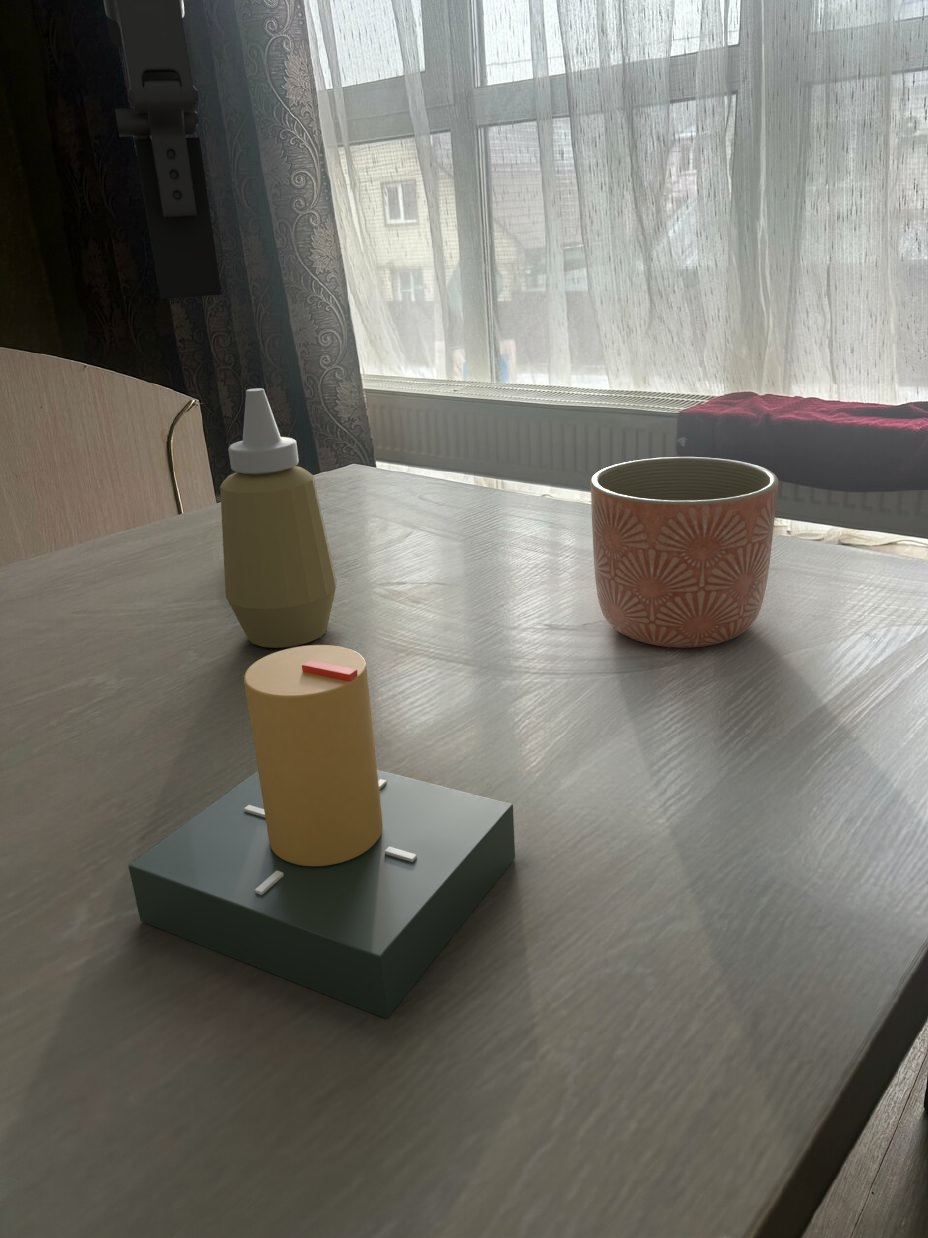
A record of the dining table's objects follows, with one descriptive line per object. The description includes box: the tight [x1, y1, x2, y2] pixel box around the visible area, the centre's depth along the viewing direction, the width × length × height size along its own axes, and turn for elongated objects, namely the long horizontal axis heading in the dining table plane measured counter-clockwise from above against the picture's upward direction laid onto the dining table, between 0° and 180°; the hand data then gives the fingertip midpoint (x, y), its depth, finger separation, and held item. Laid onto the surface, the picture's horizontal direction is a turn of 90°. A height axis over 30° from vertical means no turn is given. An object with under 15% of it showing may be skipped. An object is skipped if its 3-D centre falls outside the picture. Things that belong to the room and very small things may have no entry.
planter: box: [589, 456, 779, 649], centre depth 67 cm, size 12×12×11 cm
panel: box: [127, 769, 516, 1019], centre depth 43 cm, size 13×11×3 cm
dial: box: [243, 644, 383, 866], centre depth 41 cm, size 5×5×8 cm
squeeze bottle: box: [219, 387, 337, 649], centre depth 69 cm, size 8×8×18 cm
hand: (186, 290), depth 50 cm, fingers open, 13 cm apart
